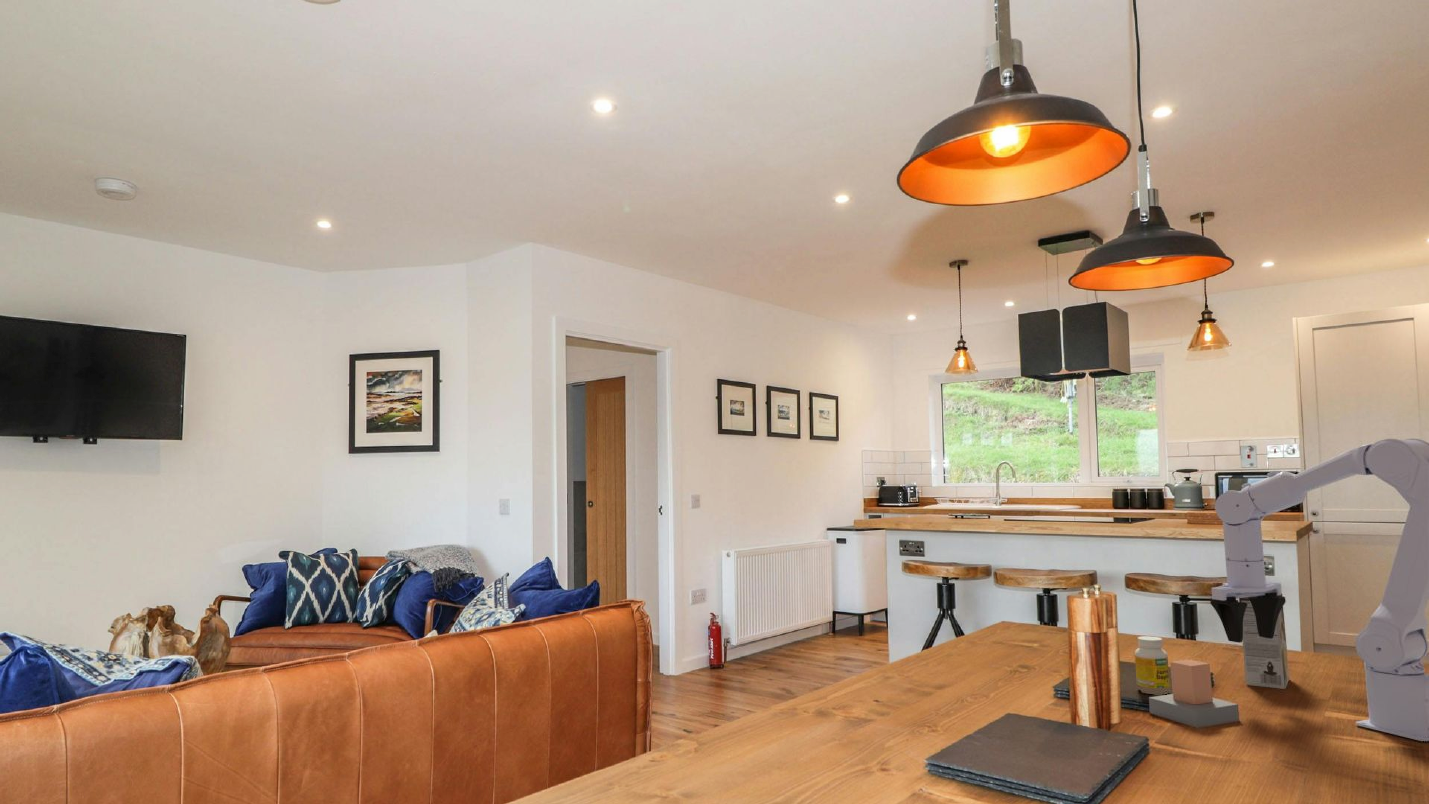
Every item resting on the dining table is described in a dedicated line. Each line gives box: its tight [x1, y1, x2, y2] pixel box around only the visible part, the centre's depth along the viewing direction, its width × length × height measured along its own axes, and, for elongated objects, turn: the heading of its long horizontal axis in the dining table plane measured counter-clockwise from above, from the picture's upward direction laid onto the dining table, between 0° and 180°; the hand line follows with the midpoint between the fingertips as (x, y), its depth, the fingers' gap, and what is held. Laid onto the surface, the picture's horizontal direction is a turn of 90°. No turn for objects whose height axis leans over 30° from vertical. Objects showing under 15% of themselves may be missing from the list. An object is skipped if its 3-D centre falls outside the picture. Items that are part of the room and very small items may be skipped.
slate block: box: [1148, 693, 1240, 729], centre depth 138 cm, size 9×9×3 cm
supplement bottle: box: [1134, 635, 1171, 688], centre depth 154 cm, size 5×5×10 cm
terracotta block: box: [1169, 658, 1214, 705], centre depth 138 cm, size 4×4×6 cm
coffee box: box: [1238, 593, 1290, 690], centre depth 159 cm, size 9×6×16 cm
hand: (1250, 639), depth 146 cm, fingers open, 7 cm apart
